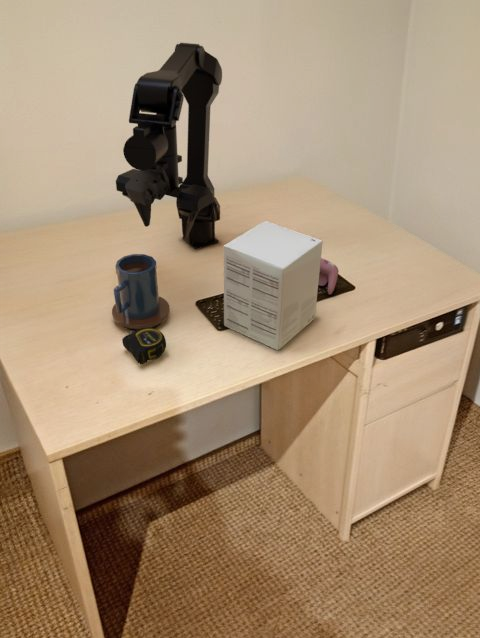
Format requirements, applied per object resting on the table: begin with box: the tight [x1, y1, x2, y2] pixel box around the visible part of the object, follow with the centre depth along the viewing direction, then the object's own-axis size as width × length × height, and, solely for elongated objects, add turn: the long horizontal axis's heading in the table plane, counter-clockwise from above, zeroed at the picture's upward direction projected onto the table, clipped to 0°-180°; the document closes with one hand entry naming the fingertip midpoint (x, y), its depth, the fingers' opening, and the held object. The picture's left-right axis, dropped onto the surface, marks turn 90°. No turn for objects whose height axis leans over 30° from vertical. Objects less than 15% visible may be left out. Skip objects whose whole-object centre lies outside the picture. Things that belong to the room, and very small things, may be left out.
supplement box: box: [223, 220, 323, 351], centre depth 114 cm, size 13×13×18 cm
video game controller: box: [318, 257, 339, 295], centre depth 129 cm, size 10×5×7 cm, turn 71°
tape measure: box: [121, 328, 167, 366], centre depth 109 cm, size 7×7×4 cm
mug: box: [111, 253, 171, 329], centre depth 115 cm, size 12×11×11 cm
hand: (166, 231), depth 120 cm, fingers open, 9 cm apart
